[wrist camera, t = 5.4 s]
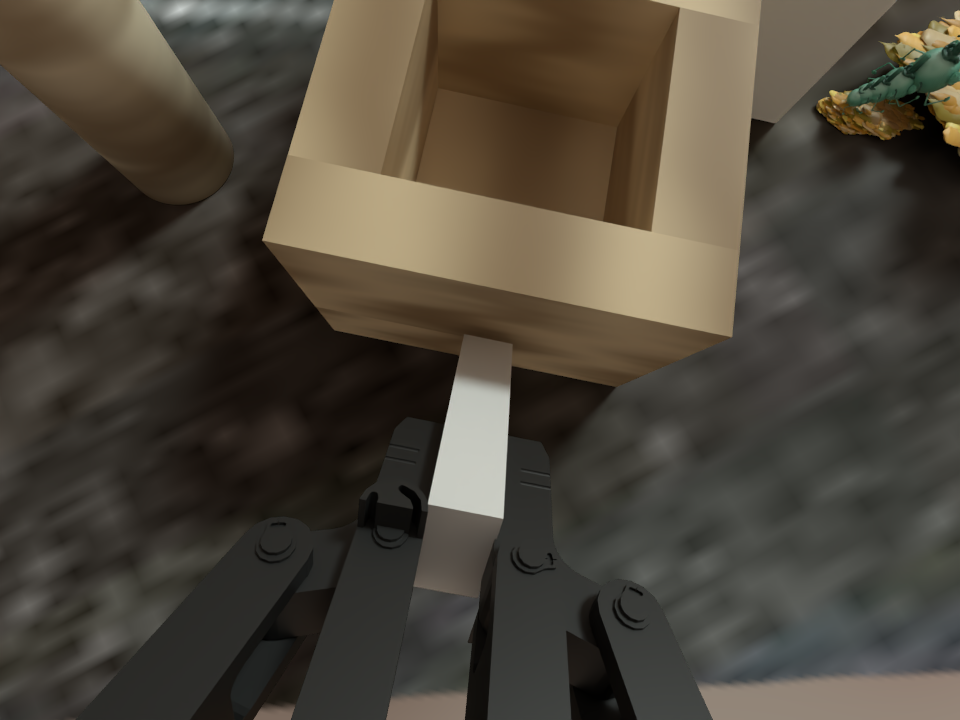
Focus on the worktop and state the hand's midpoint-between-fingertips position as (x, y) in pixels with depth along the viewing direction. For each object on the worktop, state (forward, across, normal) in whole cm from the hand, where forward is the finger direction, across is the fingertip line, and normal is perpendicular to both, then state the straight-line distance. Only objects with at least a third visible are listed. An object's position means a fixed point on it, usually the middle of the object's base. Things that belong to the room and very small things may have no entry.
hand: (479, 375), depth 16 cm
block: (+7, 0, +2) cm, 8 cm away
